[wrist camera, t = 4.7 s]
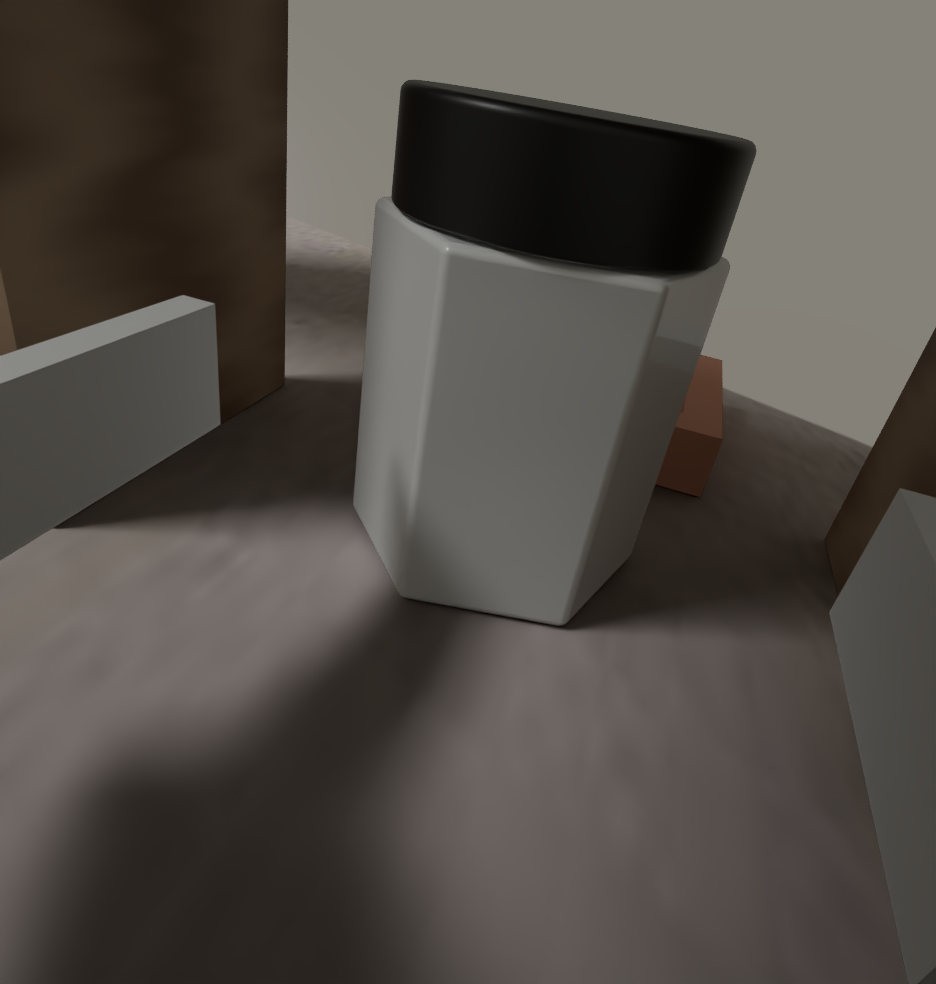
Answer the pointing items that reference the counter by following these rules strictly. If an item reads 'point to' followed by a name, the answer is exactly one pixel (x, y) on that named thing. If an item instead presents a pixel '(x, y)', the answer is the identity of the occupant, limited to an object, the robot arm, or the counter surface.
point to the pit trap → (696, 432)
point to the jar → (532, 340)
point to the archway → (220, 201)
